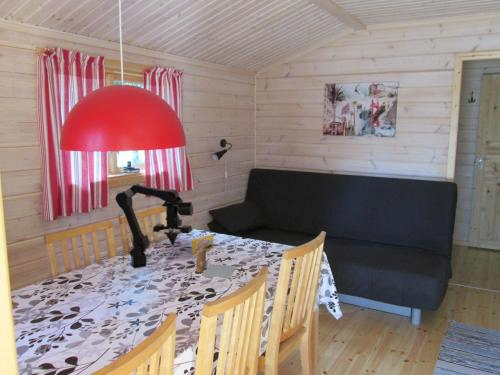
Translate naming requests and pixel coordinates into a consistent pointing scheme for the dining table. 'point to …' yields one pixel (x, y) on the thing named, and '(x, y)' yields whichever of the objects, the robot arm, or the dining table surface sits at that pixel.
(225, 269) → the mat
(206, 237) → the candy box
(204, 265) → the walnut block
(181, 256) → the dining table surface
